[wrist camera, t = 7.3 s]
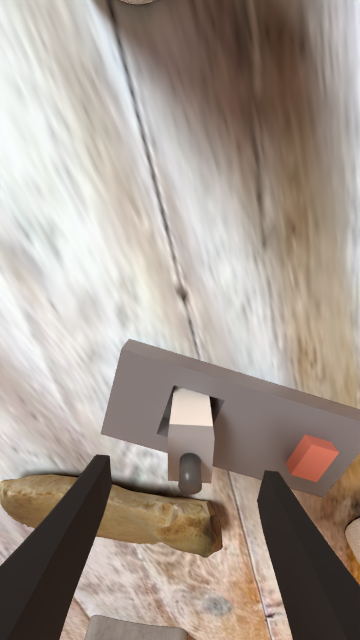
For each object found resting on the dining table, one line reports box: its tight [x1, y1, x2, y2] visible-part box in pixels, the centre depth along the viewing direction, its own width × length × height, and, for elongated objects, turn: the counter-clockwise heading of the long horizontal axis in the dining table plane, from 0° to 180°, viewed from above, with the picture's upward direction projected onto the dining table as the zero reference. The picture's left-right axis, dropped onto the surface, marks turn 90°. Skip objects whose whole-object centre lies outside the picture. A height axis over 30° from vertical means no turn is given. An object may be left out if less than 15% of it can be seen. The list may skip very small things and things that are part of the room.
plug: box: [168, 385, 215, 495], centre depth 16 cm, size 3×4×8 cm
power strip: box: [101, 339, 360, 498], centre depth 18 cm, size 22×9×3 cm, turn 73°
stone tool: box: [0, 474, 223, 558], centre depth 23 cm, size 12×4×25 cm
